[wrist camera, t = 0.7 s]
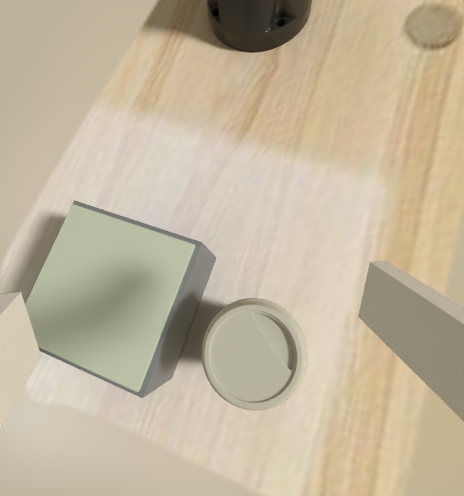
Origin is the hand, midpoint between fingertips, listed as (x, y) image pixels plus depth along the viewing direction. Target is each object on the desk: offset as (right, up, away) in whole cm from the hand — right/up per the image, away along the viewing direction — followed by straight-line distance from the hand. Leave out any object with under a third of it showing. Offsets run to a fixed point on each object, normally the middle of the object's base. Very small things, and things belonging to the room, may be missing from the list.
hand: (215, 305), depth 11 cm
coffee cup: (+4, -8, +22) cm, 24 cm away
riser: (-11, -4, +25) cm, 27 cm away
